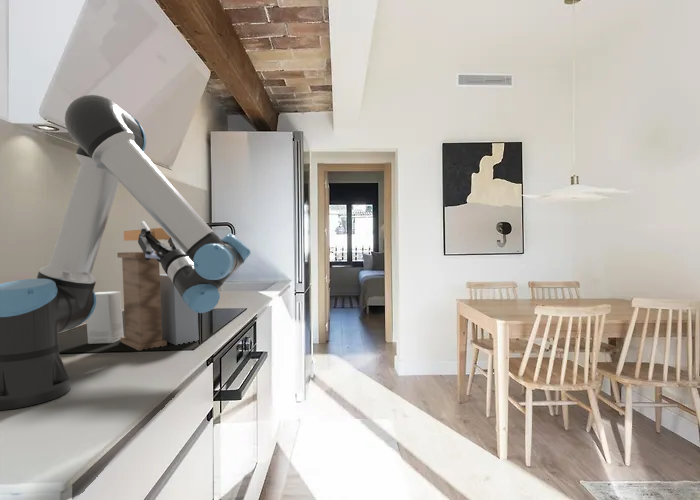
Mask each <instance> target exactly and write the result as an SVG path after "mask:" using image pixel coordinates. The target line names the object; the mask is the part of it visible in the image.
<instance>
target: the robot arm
mask: <svg viewBox="0 0 700 500" xmlns="http://www.w3.org/2000/svg"><path fill="white" fill-rule="evenodd" d="M64 125H65V129H66V131H67V133H68V134H69V135H70V138H72V140H73V141H74V142H75V143H77V144H78V147H77V150H76V153H75V157H76V158H77V160H78V161H79V165H80V166H79V170H78V173H77V176H76V178H75V181H74V184H73V185H74V186H73V189H72V191H71V195H70V197H69V201H68V204H67V207H66V211H65V214H64V217H63V219H62V223H61V227H60V230H59V233H58V236H57V239H56V242H55V246H54V249H53V250H52V251H53V252H52V255H51V258H50V261H49V263H48V264H47V265H45V266H43V267H41V268H39V270H38V272H37V275H36V278H29V279H28V278H27V279H20V280H15V281H7V282H2V283H0V411H4V410H12V409H13V410H14V409H20V408H26V407H31V406H34V405H39V404H42V403H46V402H49V401H52V400H55V399H57V398H59V397H60V398H61V397H62V396H63V395H65V394H67V393H69V391H70V390H71V378H70V375H69V373H68V370H67V369H66V366H65V363H64V362H63V359H62V357H61V356H60V346H59V345H60V344H59V342H60V341H59V334H60V333H63V332H65V331H69V330H72V329H75V328H76V327H78V326H80V325H82V324H83V323H84V322H87V321H86V320H87V319H88V318H89V317H90V316H91V315H92V313H93V311H94V309H95V306H96V294H95V293H96V292H95V291H94V290H95V286H96V283H97V279H96V277H95V276H94V274H93V272H92V271H93V268H94V265H95V262H96V259H97V255H98V252H99V250H100V246H101V243H102V240H103V237H104V233H105V231H106V228H107V224H108V220H109V218H110V214H111V211H112V208H113V205H114V201H115V198H116V196H117V192H118V189H119V186H120V183H121V184H122V186H123V187H124V188H125V189H126V190H127V191H128V192H129V193H130V195H131V196H132V197H133V198H134V199H135V200H136V201H137V202H138V203H139V204H140V206H141V207H142V208H143V209H144V210H145V212H147V214H149V216H150V217H151V218H152V219H153V220H154V222H155V223H157V227H156V228H162V229H163V230H164V231H165V232H166V233H167V234H168V235H169V236H170V239H163V241H167V244H168V245H169V246H167V245H166V244H165V243H161V242H160V241H159V240H157V239H156V238H155V237H153V236H152V231H151V230H150V229H151V228H150V226H149V225H148V224H147V222H146V221H145V220H141V223H140V229H139V230H141V234H139V239H138V240H137V243H138V245H139V247H140V249H141V252H144V254H145V260H150V258H154V259H156V260H157V261H159V264H160V266H161V267H162V270H163V271H164V273H165V274H167V275H168V277H169V278H170V280H171V281H172V283H173V284H174V286H175V287H176V288H177V290H178V292H179V293H180V295H181V296H182V298H183V301H184V302H185V303H186V304H187V305H188V306H189V307H190V309H191V310H193V311H194V312H197V313H198V314H204V313H208V312H210V311H212V310H213V309H215V307H217V305H218V304H219V301H220V299H221V293H220V291H219V289H220V288H221V287H222V286H223V284H224V283H225V282H226V281H227V280H228V279H229V278H230V277H231V276H232V275H233V274H234V273H235V272H236V271H237V270H238V268H240V266H242V265H243V264H244V263H246V260H248V258H249V256H250V255H251V250H250V248H249V247H248V246H247V245H246V244H245V242H244V241H243V242H242V240H240V239H239V238H238V237H237V236H236V235H234V234H233V233H227V234H226V235H225V236H224V237H223V238H220V237H219V236H218V235H217V234H216V233H215V232H214V230H212V228H211V227H210V226H209V224H207V222H206V221H205V220H204V219H203V218H202V217H201V216H200V215H199V213H198V212H197V211H196V210H195V209H194V208H193V206H192V205H191V204H190V203H189V202H188V201H187V200H186V199H185V197H183V195H182V194H181V193H180V192H179V191H178V190H177V188H175V187H174V186H173V184H172V183H171V182H170V181H169V180H168V179H167V178H166V176H165V174H163V173H162V171H160V169H158V167H157V166H156V165H155V164H154V162H153V161H152V160H151V159H150V158H149V157H148V156H147V155H146V154H145V152H144V151H145V150H146V148H147V147H146V145H147V137H146V133H145V131H144V128H143V127H142V125H141V124H140V122H139V121H138V120H137V119H136V117H134V116H133V115H132V114H131V113H130V112H127V111H125V110H124V109H123V108H122V107H120V106H119V105H118V104H117V103H115V102H114V101H112V100H110V99H109V98H107V97H105V96H101V95H97V94H87V95H82V96H80V97H77V98H76V99H74V100H73V101H72V102H70V104H69V105H68V107H67V109H66V111H65V114H64ZM154 252H156V253H157V254H156V253H154Z"/></svg>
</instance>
